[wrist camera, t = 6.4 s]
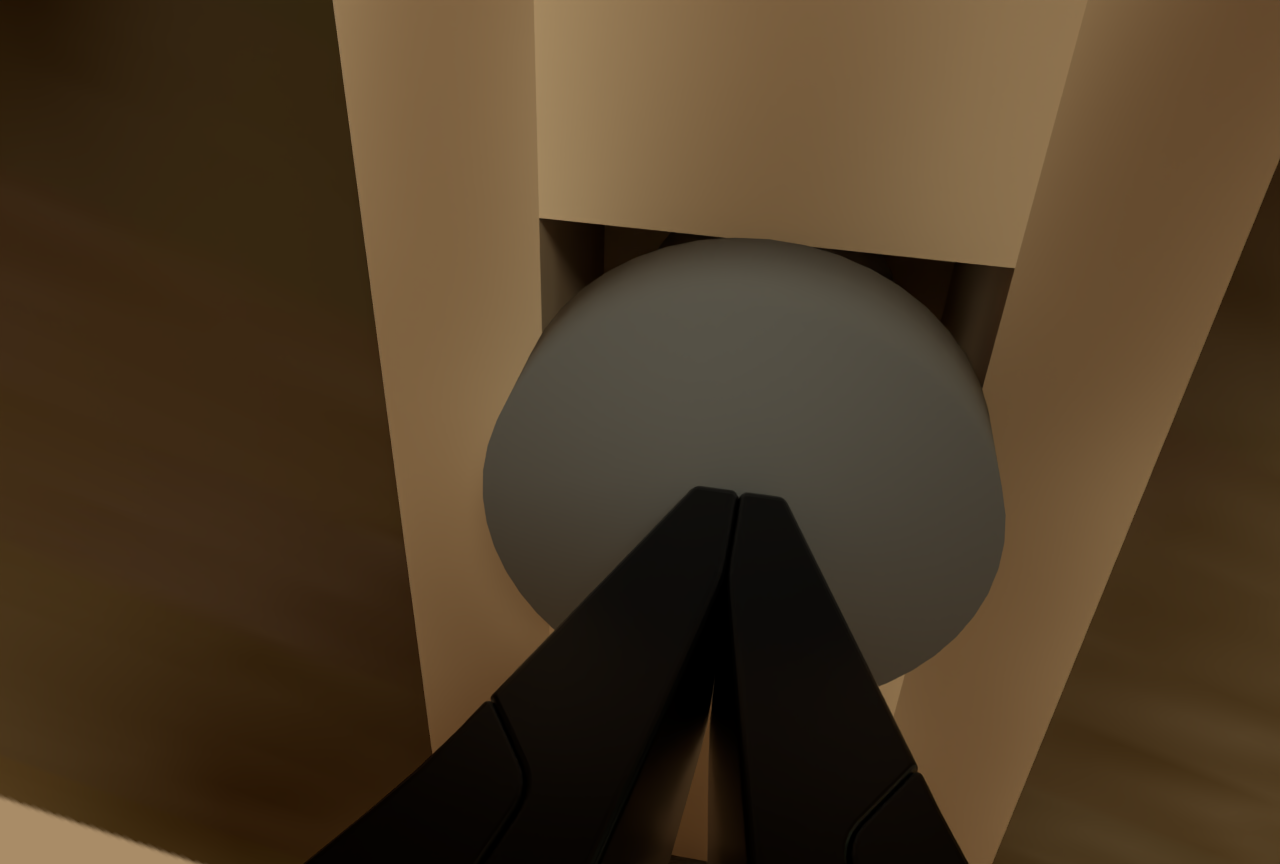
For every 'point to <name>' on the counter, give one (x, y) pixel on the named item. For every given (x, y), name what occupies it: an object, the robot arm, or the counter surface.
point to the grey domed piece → (756, 433)
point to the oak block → (826, 218)
